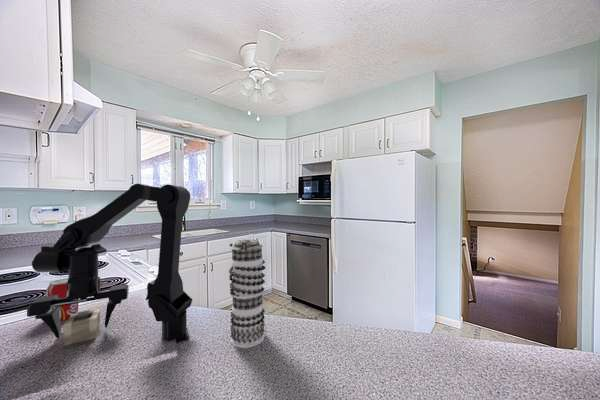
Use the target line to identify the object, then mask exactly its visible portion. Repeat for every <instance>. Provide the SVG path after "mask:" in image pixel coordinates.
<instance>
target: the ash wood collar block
mask: <svg viewBox="0 0 600 400" xmlns="http://www.w3.org/2000/svg"><path fill="white" fill-rule="evenodd" d="M100 324H101V309H97V310H92V311H91V310H90V318H85V319H80V320H77V314H75V315H71V316H70V317H69V319H68V320H65V323H64V324H63V332H64V345H69V344H73V343H77V342H81V341H85V340H90V339H94V338H96V337H97V335H98V332H99V330H100Z"/></svg>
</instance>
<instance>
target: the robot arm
mask: <svg viewBox="0 0 600 400" xmlns="http://www.w3.org/2000/svg"><path fill="white" fill-rule="evenodd" d="M145 201H151V202H156V208H157V211H158V212H159V215H160V217H161V230H160V242H159V254H158V255H159V256H158V270H157V276H156V278H155V279H154V280H151V281H150V282H148V283H147V286H146V291H147V295H146V298H145V301H147V304H148V305H147V306H148V308H149V309H151V311H152V313H153V315H154V318H155V319H154V320H155V321H156V322H161V339H162V340H165V341H167V342H172V341H175V343H176V344H177V343H180V342H184V341H186V340H189V339H190V338H191V336H190V333H189V329H188V325H187V322H188V321H187V318H188V317H187V310H188V308H190V307H192V303H193V298H192V297H191V296H190V295H189V294H188V293H187V292H186V291H184V285H183V284H184V282H183V280H182V277H181V275H180V272H179V268H180V254H181V253H180V252H181V240H182V226H183V219H184V217H185V216H186V213H187V212H188V209H189V205H190V201H191V192H190V191H189V190H188V188H186V187H185V186H184V187H183V186H180V185H179V186H178V185H176V184H164V185H162V186H161V187H159V186H153V185H152V186H151V185H149V184H143V183H135V184H132V185H130V187H129V188H128V189H127V190H126V191H124V192H123V193H122V194H121V195H118V197H116V198H115V199H113V200H112V201H111V202H108V204H106V206H104V207H103V208H101V209H100V210H98V211H97V212H96V213H94V214H91V215H90V216H87V217H85V218H82V219H81V218H80V219H79V220H76V221H74V222H72V223H70V224H68V225H66V227H65V228H64V229H63V230H62V235H61V236H60V237H59V238H58V240H57V241H56V242H55V244H52V245H51V244H50V245H44V246H43V245H42V246H41V249H40V251H39V252H38V253H37V254H36V255H35V256H34V257H33V260H32V261H31V266H32V269H33V270H34V271H35V272H37V273H65V272H68V277H67V278H68V281H67V287H66V289H67V290H68V297H65V298H58V295H52V296H46V295H45V296H39V297H37V298H35V300H34V301H32V302H31V303H30V304H29V305H28V306H27V309H26V317H29V318H30V317H31V318H32V317H34V318H35V320H38V319H41V320H42V321H43V322H44V324H46V326H47V327H48V328H49V329H50V330H51V332H52V333H53V335H54V336H55V338H56V339H57V338H60V336H61V333H62V332H61V331H62V329H61V327H62V326H61V321H60V318H59V310H60V306H64V305H70V304H76V303H78V304H80V303H87V302H92V301H98V300H99V301H100V300H103V299H108V301H107V304H106V310H105V311H106V312H105V318H104V324H105V328H106V327H107V326H108V323H109V322H110V319H111V317H112V314H113V312H114V310H115V308H116V306H117V305H119V304H122V302H123V301H126V300H127V299H128V298H129V297H128V296H129V293H130V292H129V289H130V288H129V287H130V286H129V285H128V284H126V283H124V284H118V285H112V286H110V289H109V290H104V291H103V290H102V291H101V282H102V281H101V279H102V278H101V277H100V276H99V255H100V254H103V253H106V252H107V251H108V250H107V248H105V247H103V246H102V245H101V244H100V243H99V242H100V241H102V239H103V238H105V237H106V235H108V233H109V231H110V229H111V227H112V226H114V224H116V223H117V222H118V221H120V220H121V219H122V218H124V217H125V216H127V215H128V214H130V212H132V211H133V210H134V209H136V208H138V207H139V206H140V205H141V204H143V203H144V202H145ZM91 244H92V245H91ZM90 245H91V246H90ZM88 246H89V247H88ZM75 299H78V300H75Z"/></svg>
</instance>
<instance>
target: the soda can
mask: <svg viewBox="0 0 600 400" xmlns="http://www.w3.org/2000/svg"><path fill="white" fill-rule="evenodd" d="M67 281H68V277H67V278H61V279H56V280H53V281H51V282H49V283H48V284H49V285H48V287H47V288H46V290H45V296H52V295H58V298H65V297H68V290H67V289H66V287H67ZM75 300H78V299H75ZM78 313H79V303H76V304H70V305H64V306H60V310H59V318H60V322H64V321H67V320H68V319H69V317H70V316H71V315H75V314H78Z"/></svg>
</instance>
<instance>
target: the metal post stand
mask: <svg viewBox="0 0 600 400" xmlns="http://www.w3.org/2000/svg"><path fill="white" fill-rule="evenodd" d="M90 311H91V310H85V311H78V314H77V320H80V319H85V318H90ZM113 323H114V321H109V323H108V326H107V327H106V328H105V323H100V330H99V332H98V335H97V337H96V338H94V339H90V340H85V341H81V342H77V343H73V344H69V345H64V331H63V332H61V336H60V338H56V339H55V340H54V342H53V343H52V345H50V347H49V349H48V350H47V352H46V353H45V356H46V355H51V354H54V353H58V352H62V351H67V350H71V349H74V348H79V347H82V346H83V347H84V346H88V345H91V344H96V343H99V342H103V341H107V340H108V338H109V335H110V332H111V330H112V327H113Z"/></svg>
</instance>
